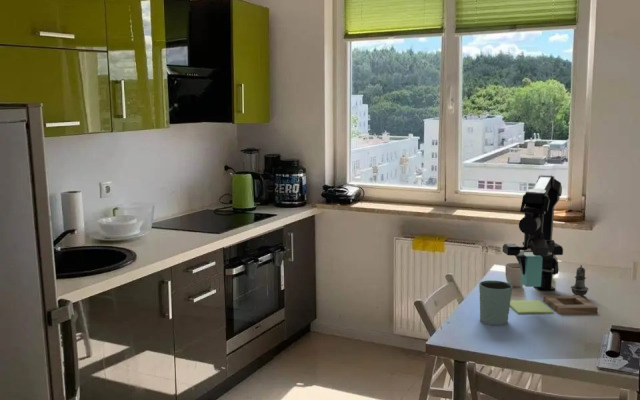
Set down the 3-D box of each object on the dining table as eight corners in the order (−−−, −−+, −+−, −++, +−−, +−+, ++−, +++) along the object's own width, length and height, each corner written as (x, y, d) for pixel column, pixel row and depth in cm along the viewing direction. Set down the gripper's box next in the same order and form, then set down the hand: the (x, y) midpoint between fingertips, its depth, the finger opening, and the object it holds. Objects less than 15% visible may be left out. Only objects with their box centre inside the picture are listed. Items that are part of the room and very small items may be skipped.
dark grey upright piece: (584, 295, 229) (587, 263, 227) (590, 300, 223) (592, 267, 221) (568, 294, 229) (570, 262, 227) (572, 299, 223) (575, 266, 222)
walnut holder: (543, 301, 222) (543, 295, 222) (579, 300, 223) (579, 295, 222) (558, 313, 209) (559, 307, 209) (597, 313, 210) (597, 307, 209)
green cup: (474, 323, 200) (475, 286, 198) (481, 313, 209) (483, 278, 207) (506, 328, 196) (508, 290, 194) (513, 318, 204) (515, 282, 203)
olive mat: (505, 302, 221) (505, 300, 221) (539, 301, 221) (539, 300, 221) (518, 313, 209) (518, 312, 209) (553, 313, 209) (553, 311, 209)
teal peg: (520, 282, 216) (522, 253, 214) (535, 282, 216) (536, 253, 215) (526, 286, 211) (527, 257, 210) (540, 286, 211) (542, 257, 210)
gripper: (514, 234, 202) (512, 281, 205) (572, 233, 203) (568, 280, 206) (503, 227, 213) (500, 272, 216) (557, 226, 214) (554, 271, 217)
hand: (531, 274), depth 213 cm, fingers closed on teal peg, 5 cm apart
